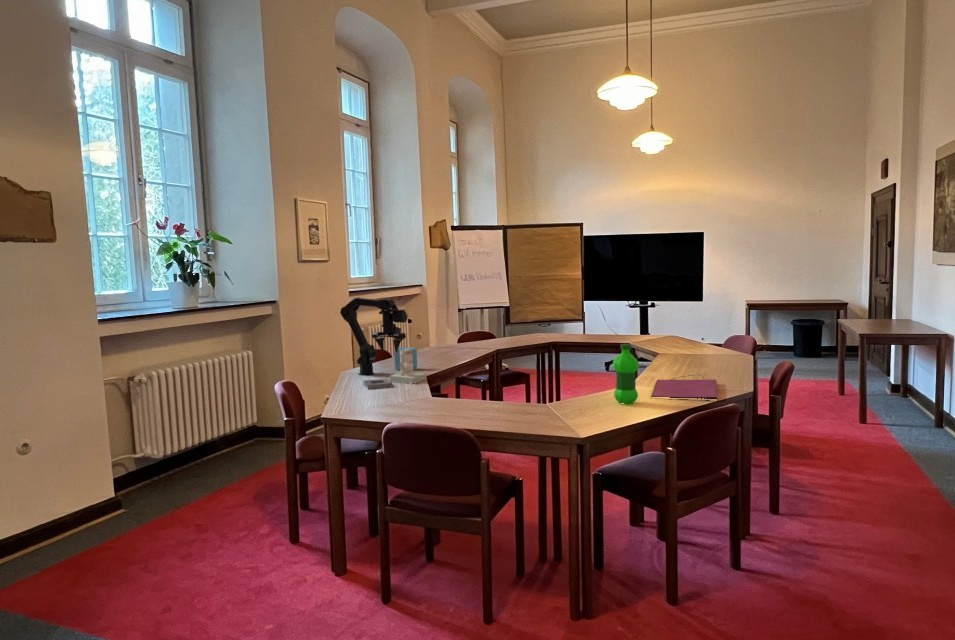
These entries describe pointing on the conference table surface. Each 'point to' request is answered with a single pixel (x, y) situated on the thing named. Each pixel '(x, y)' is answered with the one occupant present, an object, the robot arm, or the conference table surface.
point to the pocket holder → (377, 383)
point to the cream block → (406, 362)
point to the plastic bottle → (625, 375)
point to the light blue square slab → (397, 358)
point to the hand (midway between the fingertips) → (389, 351)
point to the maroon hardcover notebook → (686, 388)
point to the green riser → (408, 378)
